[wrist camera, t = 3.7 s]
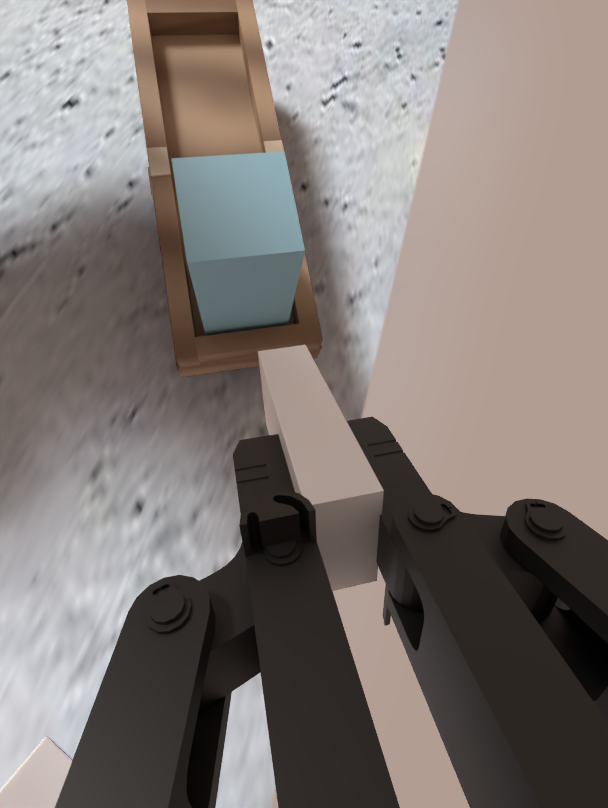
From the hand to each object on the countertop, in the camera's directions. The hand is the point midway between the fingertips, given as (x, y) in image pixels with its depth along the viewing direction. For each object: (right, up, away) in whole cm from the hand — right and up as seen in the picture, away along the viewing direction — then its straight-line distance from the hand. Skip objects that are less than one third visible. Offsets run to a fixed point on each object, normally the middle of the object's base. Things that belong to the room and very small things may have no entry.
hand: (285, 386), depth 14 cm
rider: (-3, +6, +14) cm, 15 cm away
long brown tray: (-6, +14, +20) cm, 25 cm away
